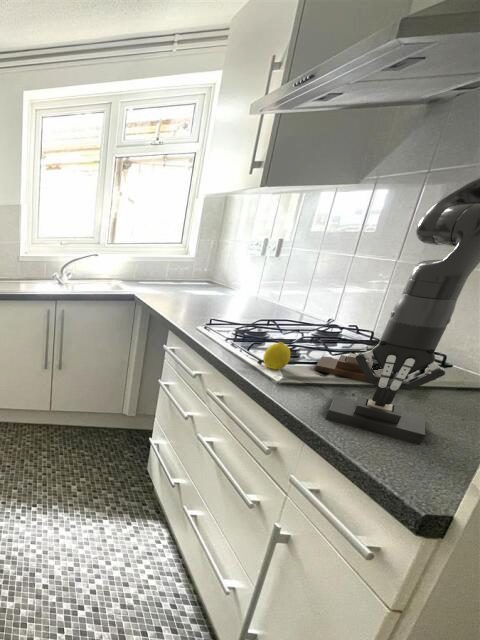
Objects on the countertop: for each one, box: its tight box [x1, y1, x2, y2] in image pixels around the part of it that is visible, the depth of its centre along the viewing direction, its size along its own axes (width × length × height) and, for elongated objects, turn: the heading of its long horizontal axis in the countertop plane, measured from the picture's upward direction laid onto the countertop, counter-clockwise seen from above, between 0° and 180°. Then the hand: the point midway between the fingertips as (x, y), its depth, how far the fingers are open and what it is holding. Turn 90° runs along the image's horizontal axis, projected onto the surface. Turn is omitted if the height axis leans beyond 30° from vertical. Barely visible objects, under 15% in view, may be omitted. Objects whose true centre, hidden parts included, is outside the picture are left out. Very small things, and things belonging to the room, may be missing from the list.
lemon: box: [263, 341, 291, 370], centre depth 109 cm, size 6×6×8 cm
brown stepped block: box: [314, 354, 390, 384], centre depth 107 cm, size 14×10×4 cm
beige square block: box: [346, 352, 358, 363], centre depth 106 cm, size 4×4×2 cm
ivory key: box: [366, 399, 393, 412], centre depth 83 cm, size 4×4×2 cm
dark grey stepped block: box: [324, 395, 426, 446], centre depth 84 cm, size 14×10×4 cm
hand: (379, 404), depth 83 cm, fingers closed
